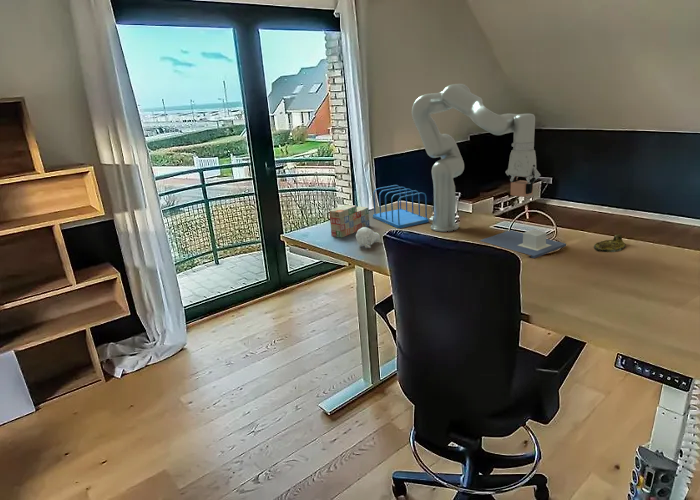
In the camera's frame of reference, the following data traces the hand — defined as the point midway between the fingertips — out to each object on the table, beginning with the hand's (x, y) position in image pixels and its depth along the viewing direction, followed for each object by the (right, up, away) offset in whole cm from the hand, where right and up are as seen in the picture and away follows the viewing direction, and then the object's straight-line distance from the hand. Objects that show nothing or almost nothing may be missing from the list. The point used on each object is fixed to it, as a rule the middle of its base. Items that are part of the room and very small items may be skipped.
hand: (521, 191), depth 189 cm
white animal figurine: (-60, -21, +12) cm, 65 cm away
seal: (+30, -23, -9) cm, 39 cm away
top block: (0, -1, 0) cm, 1 cm away
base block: (+3, -21, -5) cm, 22 cm away
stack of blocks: (-68, -14, +34) cm, 78 cm away
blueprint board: (0, -21, 0) cm, 21 cm away
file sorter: (-44, -9, +46) cm, 64 cm away
